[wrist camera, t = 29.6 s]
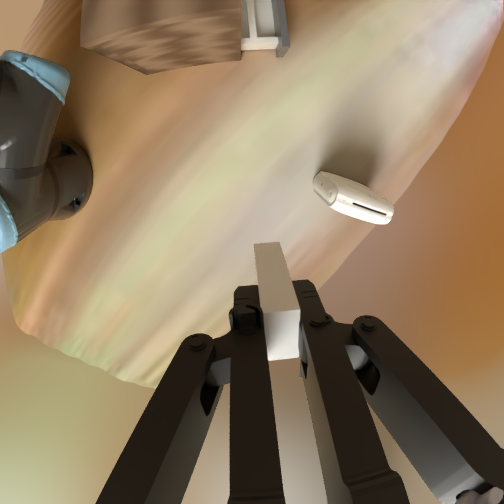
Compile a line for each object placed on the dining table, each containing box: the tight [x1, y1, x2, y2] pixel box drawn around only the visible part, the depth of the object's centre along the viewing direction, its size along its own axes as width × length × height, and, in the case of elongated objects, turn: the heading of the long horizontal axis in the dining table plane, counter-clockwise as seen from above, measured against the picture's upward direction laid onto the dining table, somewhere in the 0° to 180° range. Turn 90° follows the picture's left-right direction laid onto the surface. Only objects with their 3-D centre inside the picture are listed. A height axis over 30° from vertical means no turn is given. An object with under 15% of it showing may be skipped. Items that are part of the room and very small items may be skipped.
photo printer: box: [313, 171, 394, 224], centre depth 40 cm, size 10×4×12 cm, turn 75°
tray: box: [241, 0, 290, 57], centre depth 29 cm, size 20×19×7 cm
